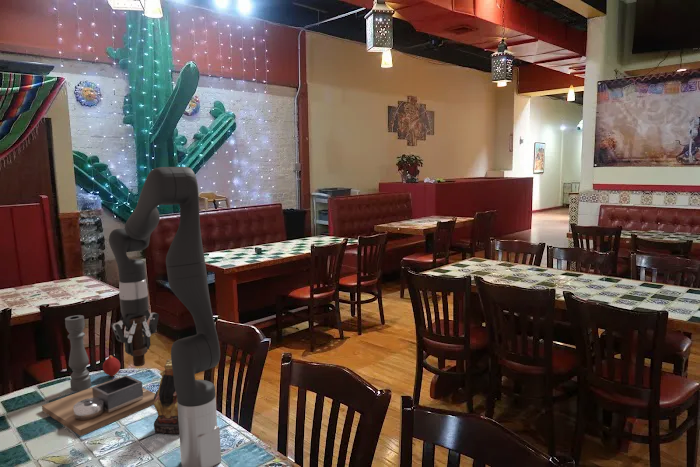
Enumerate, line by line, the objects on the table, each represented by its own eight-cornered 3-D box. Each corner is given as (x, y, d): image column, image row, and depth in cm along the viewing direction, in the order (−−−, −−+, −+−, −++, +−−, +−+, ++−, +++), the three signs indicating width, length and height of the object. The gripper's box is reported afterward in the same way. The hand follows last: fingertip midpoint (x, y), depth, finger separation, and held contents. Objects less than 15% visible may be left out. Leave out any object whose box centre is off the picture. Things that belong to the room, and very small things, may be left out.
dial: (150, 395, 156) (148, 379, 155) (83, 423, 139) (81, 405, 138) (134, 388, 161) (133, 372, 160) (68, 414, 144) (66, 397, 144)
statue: (149, 434, 137) (144, 367, 134) (166, 420, 145) (161, 356, 142) (187, 438, 134) (182, 370, 132) (203, 424, 142) (198, 359, 139)
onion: (103, 374, 177) (102, 353, 176) (121, 371, 180) (119, 351, 178) (103, 380, 172) (101, 359, 171) (121, 377, 174) (119, 356, 173)
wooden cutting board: (160, 401, 156) (160, 395, 156) (80, 436, 136) (80, 429, 136) (119, 381, 171) (119, 376, 171) (42, 411, 151) (41, 405, 151)
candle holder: (67, 389, 166) (59, 319, 162) (84, 382, 171) (77, 313, 168) (78, 393, 163) (71, 321, 159) (95, 385, 168) (88, 316, 165)
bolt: (140, 369, 140) (136, 319, 138) (125, 368, 141) (121, 319, 139) (152, 361, 146) (149, 313, 144) (137, 360, 147) (134, 313, 145)
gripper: (116, 302, 133) (121, 362, 135) (163, 291, 144) (167, 346, 147) (102, 299, 137) (108, 356, 140) (149, 288, 149) (153, 341, 151)
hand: (138, 351), depth 143 cm, fingers closed on bolt, 4 cm apart
